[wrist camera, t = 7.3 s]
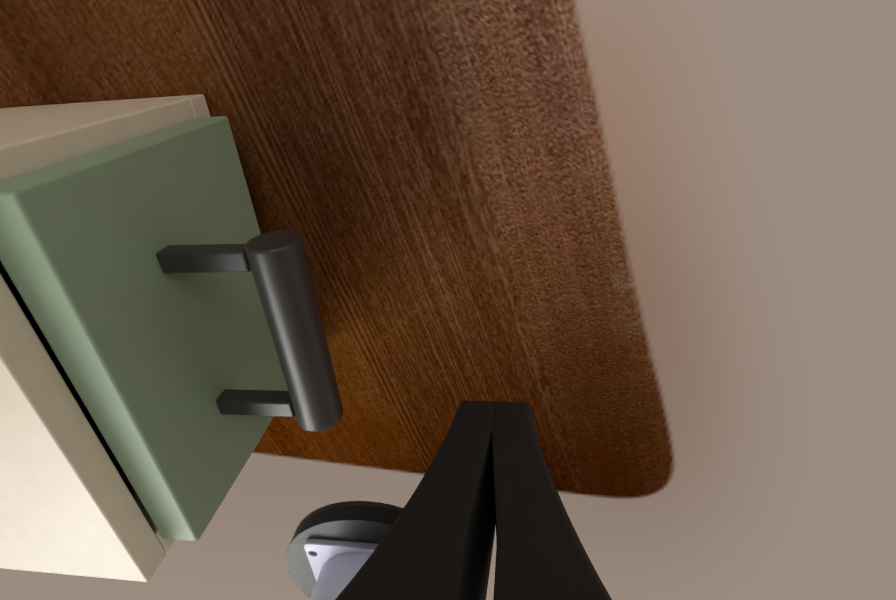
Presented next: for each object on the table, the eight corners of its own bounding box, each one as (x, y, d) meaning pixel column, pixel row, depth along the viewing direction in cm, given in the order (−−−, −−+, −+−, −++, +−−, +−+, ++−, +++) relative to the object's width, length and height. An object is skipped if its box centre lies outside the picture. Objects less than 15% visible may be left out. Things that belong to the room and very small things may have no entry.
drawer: (343, 108, 15) (202, 183, 9) (389, 375, 21) (324, 552, 14) (-92, 135, 18) (-468, 210, 11) (48, 367, 23) (-148, 515, 16)
